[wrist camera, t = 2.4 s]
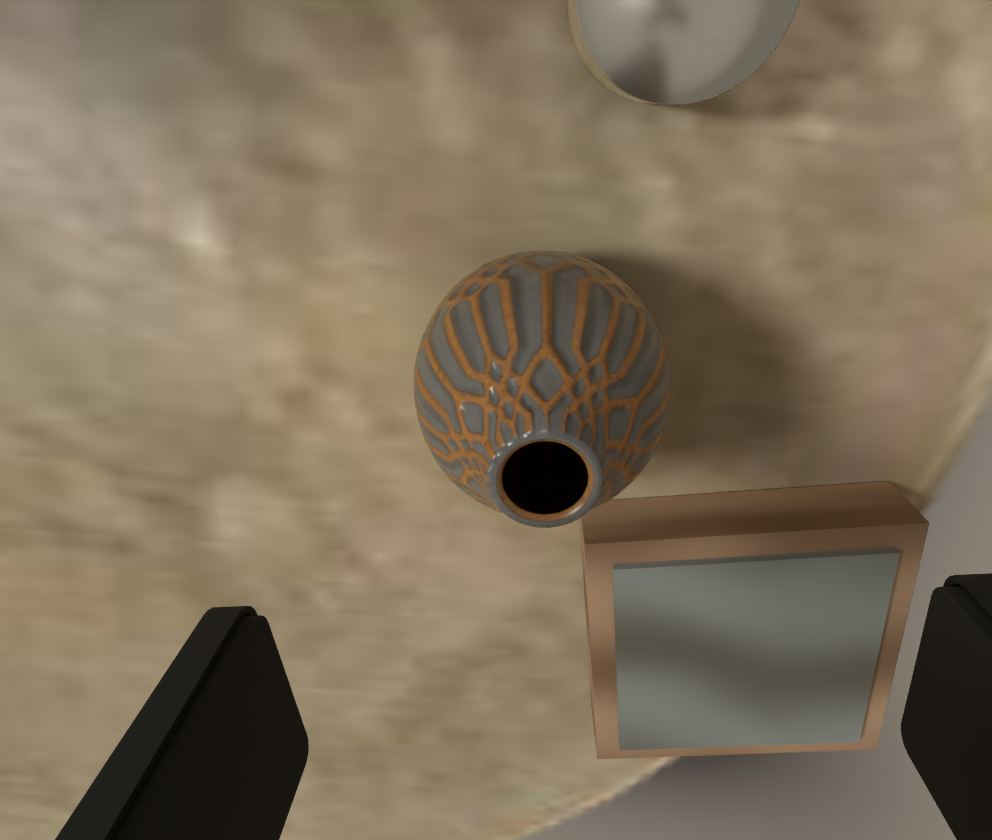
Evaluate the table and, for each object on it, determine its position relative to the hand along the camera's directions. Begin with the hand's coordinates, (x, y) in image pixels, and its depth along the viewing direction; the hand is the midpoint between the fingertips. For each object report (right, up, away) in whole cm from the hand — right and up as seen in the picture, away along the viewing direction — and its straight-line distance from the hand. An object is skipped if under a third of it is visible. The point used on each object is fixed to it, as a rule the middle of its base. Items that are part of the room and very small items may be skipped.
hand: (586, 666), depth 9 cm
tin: (+3, +15, +7) cm, 17 cm away
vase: (0, +6, +12) cm, 13 cm away
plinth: (+8, -4, +16) cm, 19 cm away
